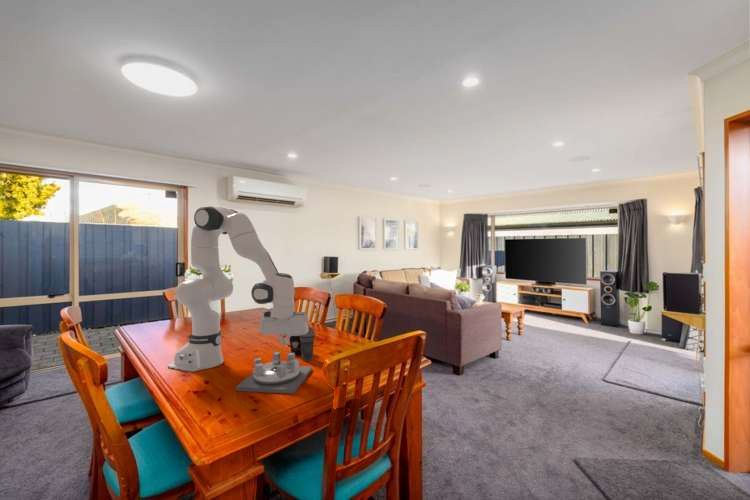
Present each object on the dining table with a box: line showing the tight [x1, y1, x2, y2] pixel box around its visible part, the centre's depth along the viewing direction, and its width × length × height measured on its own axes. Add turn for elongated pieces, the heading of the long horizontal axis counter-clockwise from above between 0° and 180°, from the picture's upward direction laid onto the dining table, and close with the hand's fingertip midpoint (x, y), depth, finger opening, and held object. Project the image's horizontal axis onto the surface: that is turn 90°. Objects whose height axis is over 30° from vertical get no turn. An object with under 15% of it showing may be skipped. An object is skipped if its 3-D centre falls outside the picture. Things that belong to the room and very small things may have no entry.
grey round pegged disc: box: [252, 351, 301, 385], centre depth 127 cm, size 19×18×6 cm
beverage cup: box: [299, 326, 316, 362], centre depth 150 cm, size 7×7×20 cm
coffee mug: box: [282, 334, 302, 356], centre depth 160 cm, size 12×9×10 cm
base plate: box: [235, 365, 313, 395], centre depth 128 cm, size 22×22×2 cm
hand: (284, 344), depth 134 cm, fingers closed
